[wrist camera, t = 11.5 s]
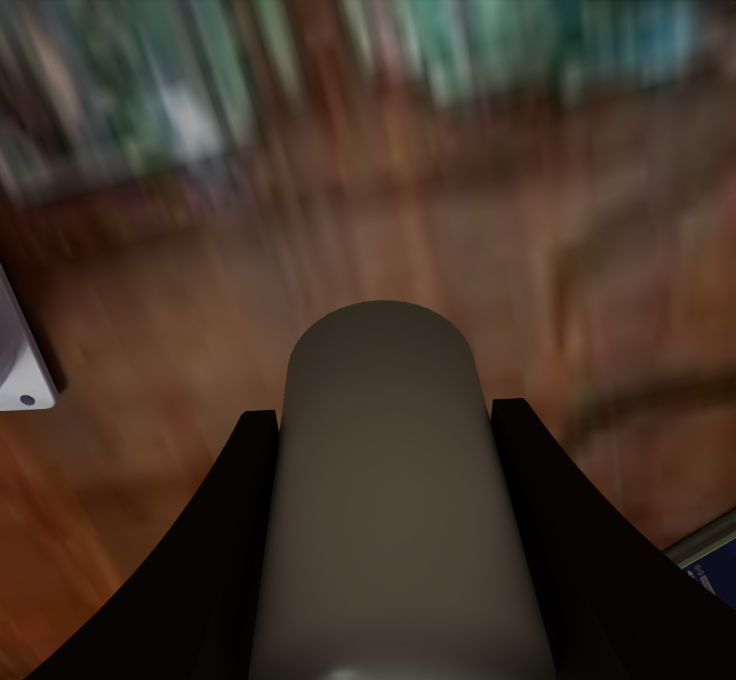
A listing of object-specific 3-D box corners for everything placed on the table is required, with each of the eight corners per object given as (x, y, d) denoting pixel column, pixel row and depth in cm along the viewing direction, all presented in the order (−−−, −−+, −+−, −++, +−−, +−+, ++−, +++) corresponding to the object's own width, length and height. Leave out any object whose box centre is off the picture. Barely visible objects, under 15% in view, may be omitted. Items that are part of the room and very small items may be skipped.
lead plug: (297, 449, 16) (269, 760, 10) (275, 305, 13) (220, 615, 8) (469, 441, 16) (535, 748, 10) (481, 295, 13) (579, 599, 8)
